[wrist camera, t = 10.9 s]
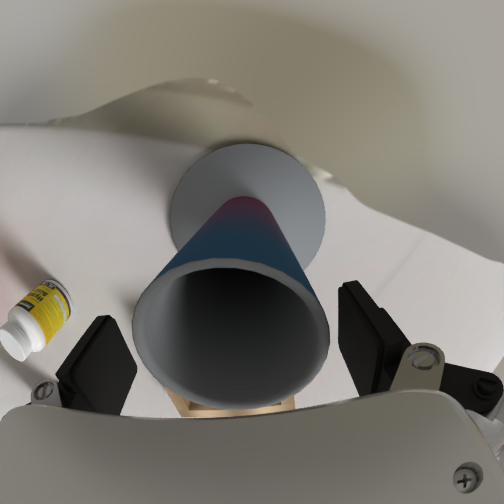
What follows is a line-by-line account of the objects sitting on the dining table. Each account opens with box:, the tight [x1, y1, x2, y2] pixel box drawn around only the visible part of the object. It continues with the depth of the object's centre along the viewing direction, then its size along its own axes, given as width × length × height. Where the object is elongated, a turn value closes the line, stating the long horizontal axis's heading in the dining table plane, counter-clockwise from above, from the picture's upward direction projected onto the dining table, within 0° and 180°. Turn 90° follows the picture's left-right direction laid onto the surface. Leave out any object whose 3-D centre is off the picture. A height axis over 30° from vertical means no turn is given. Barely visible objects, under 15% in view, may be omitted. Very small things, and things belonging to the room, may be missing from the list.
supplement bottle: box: [0, 280, 73, 361], centre depth 22 cm, size 5×5×10 cm
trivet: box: [170, 144, 325, 271], centre depth 23 cm, size 13×13×1 cm
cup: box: [132, 196, 330, 410], centre depth 16 cm, size 7×7×15 cm
